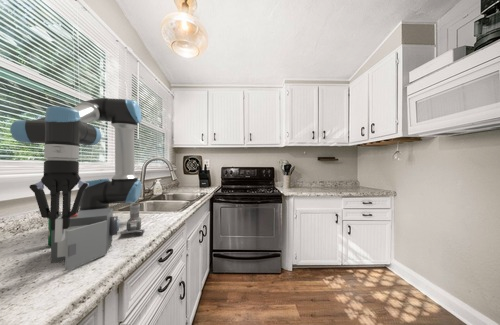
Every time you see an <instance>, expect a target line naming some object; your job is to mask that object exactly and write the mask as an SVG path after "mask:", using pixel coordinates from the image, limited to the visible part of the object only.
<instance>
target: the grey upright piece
mask: <svg viewBox="0 0 500 325" xmlns="http://www.w3.org/2000/svg"><path fill="white" fill-rule="evenodd" d="M140 210H141V204H140V203H130V204H129V219H128V220H127V221H126V229H125V230H126V231H121V232H120V233H119V235H123V234H131V233H140V232H145V229H143V228H142V218H141V217H140ZM141 228H142V229H141Z"/></svg>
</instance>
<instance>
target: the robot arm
mask: <svg viewBox="0 0 500 325" xmlns="http://www.w3.org/2000/svg"><path fill="white" fill-rule="evenodd" d="M45 111H46V112H45V116H43V117H40V118H36V119H31V120H30V119H18V120H15V121H13V122H12V123H11V125H10V128H9V131H10V132H9V133H10V134H11V137H12V138H13V139H14V140H15V141H16V142H19V143H22V144H23V143H24V144H31V145H33V144H44V148H43V149H44V153H43V155H44V156H43V157H44V159H46V160H44V161H43V176H42V177H41V179H40V181H38V182H36V183H34V184H30V185H28V186H29V189H30V190H31V191H32V193H33V194H34V196H35V199H36V203H37V206H38V209H39V213H40V216H41V217H42V218H44V219H45V218H46V219H48V218H49V219H50V220H51V228H50V229H51V230H55V242H62V241H63V240H64V239H65V229H67V228H69V226H70V216H73V215H75V214H77V213H78V211H82V210H94V209H107V208H110V206H109V205H111V204H113V205H114V204H135V203H136V202H137V201H139V199H140V197H141V193H142V188H143V185H142V181H140V180H138V178H139V177H138V176H137V175H136V174H135V130H136V129H137V127H138V124H141V123H142V120H143V118H142V111H141V108H140V105H139V103H138V102H137V101H135V100H133V99H128V98H109V97H108V98H107V97H98V98H94V99H93V98H92V99H89V100H85V101H81V102H79V103H77V104H76V105H75V106H74V107H66V106H58V105H57V106H55V105H53V106H49V107H47V108H46V110H45ZM95 122H111V123H110V125H111V126H112V127H113V128H114V176H112V177H111V179H110V178H102V179H93V180H85V181H83V180H82V178H81V176H80V174H79V173H80V172H79V170H80V162H79V161H78V160H79V159H80V145H81V146H88V147H90V146H96V145H97V144H99V143H100V142H101V139H102V133H101V132H102V131H100V129H99V128H98V127H96V126H95V125H93V124H90V123H95ZM77 185H78V186H77ZM76 186H77V187H78V190H77V192H76V194H75V195H76V196H75V199H74V202H73V205H72V204H71V203H72V202H71V199H72V191H73V189H74V188H75V187H76ZM45 187H46V188H47V189H48V190H49V191H50V192H49V195H50V207H49V203H48V200H47V197H46V194H45V190H44V189H45ZM61 193H62V210H61V212H62V217H59V216H60V215H59V212H60V199H61V198H60V197H61V196H60V195H61ZM71 205H72V206H71ZM70 211H71V212H70ZM58 217H59V218H58Z"/></svg>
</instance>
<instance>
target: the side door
mask: <svg viewBox="0 0 500 325" xmlns="http://www.w3.org/2000/svg"><path fill="white" fill-rule="evenodd" d="M106 253H107V254H108V252H107V220H104V221H102V222H98V223H95V224H91V225H87V226H83V227H79V228H75V229H72V230H68V231H66V255H65V261H64V264H65V265H64V270H65V271H71V270H73V269H75V268H77V267H80V266H82V265H84V264H87V263H89V262H91V261H93V260H95V259H99V258H101V257H103V256H105V255H107V254H106Z"/></svg>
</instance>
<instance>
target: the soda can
mask: <svg viewBox="0 0 500 325" xmlns="http://www.w3.org/2000/svg"><path fill="white" fill-rule="evenodd" d="M59 215H60V216H61V215H62V211H59ZM47 219H48V220H47V222H48V223H47V246H48V247H51V231H52V230H51V229H50V228H51V220H50V219H49V218H47Z"/></svg>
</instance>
